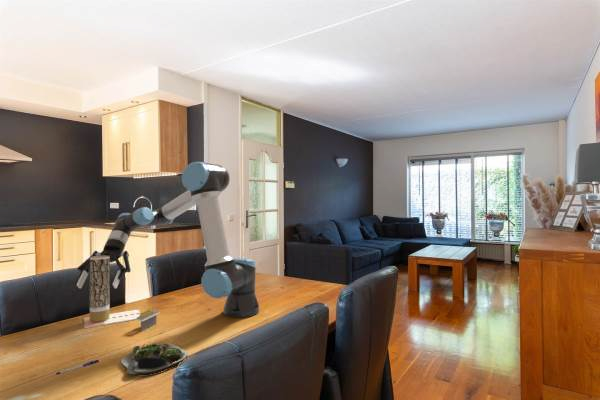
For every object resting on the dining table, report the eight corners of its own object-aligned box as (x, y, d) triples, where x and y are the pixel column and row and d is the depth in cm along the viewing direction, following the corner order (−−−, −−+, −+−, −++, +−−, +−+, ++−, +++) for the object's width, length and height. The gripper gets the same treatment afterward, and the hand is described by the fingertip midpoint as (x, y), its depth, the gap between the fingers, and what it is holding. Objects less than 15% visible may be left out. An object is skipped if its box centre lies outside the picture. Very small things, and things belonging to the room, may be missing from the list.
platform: (115, 335, 121) (115, 317, 121) (150, 319, 138) (150, 303, 138) (143, 339, 118) (143, 320, 118) (175, 321, 135) (175, 305, 135)
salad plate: (107, 360, 102) (107, 345, 102) (165, 342, 115) (165, 329, 115) (132, 384, 89) (132, 367, 89) (194, 361, 102) (194, 346, 102)
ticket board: (142, 318, 138) (142, 317, 138) (84, 328, 127) (84, 327, 127) (138, 310, 148) (138, 309, 148) (84, 319, 137) (84, 317, 137)
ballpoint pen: (98, 361, 101) (98, 358, 101) (99, 362, 101) (99, 359, 101) (55, 374, 93) (55, 371, 93) (56, 376, 93) (56, 372, 93)
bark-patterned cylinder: (100, 323, 130) (100, 258, 130) (85, 322, 132) (85, 257, 132) (113, 317, 137) (113, 255, 137) (99, 316, 138) (99, 255, 138)
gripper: (147, 248, 151) (132, 291, 135) (90, 248, 149) (68, 291, 134) (142, 238, 145) (126, 281, 130) (83, 238, 144) (59, 281, 129)
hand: (96, 286), depth 132 cm, fingers open, 13 cm apart
